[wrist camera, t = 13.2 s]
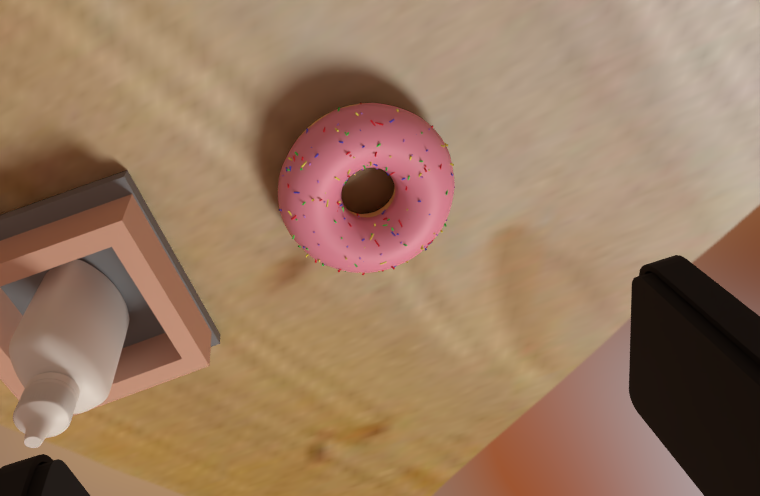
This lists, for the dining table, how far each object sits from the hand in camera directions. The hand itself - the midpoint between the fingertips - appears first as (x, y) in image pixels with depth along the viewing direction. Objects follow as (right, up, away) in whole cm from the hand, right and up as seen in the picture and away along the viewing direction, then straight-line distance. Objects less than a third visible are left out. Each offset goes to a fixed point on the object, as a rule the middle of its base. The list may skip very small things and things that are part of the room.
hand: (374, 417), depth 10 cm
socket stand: (-18, 0, +28) cm, 33 cm away
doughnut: (-1, +7, +29) cm, 29 cm away
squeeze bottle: (-18, 0, +27) cm, 33 cm away
